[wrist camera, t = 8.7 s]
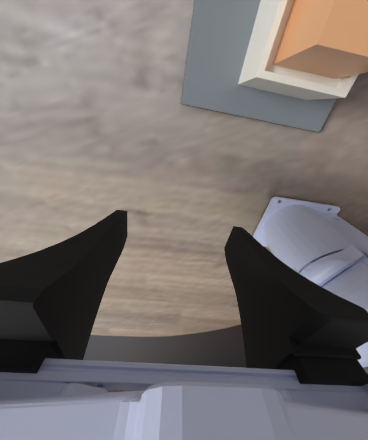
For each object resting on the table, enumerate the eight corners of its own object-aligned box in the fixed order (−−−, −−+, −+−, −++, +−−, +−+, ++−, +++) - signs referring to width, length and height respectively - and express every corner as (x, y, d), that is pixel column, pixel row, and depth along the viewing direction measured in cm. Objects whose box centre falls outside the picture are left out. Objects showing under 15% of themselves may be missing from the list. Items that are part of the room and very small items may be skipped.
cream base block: (359, -14, 12) (438, -67, 8) (306, 100, 16) (345, 97, 12) (271, -41, 11) (315, -113, 8) (237, 84, 15) (256, 77, 11)
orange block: (387, -28, 9) (524, -117, 6) (334, 78, 12) (404, 65, 8) (311, -51, 9) (404, -165, 5) (272, 64, 11) (316, 44, 8)
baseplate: (383, -2, 13) (394, -8, 12) (313, 131, 18) (319, 132, 17) (202, -58, 11) (203, -68, 11) (180, 103, 16) (180, 103, 16)
